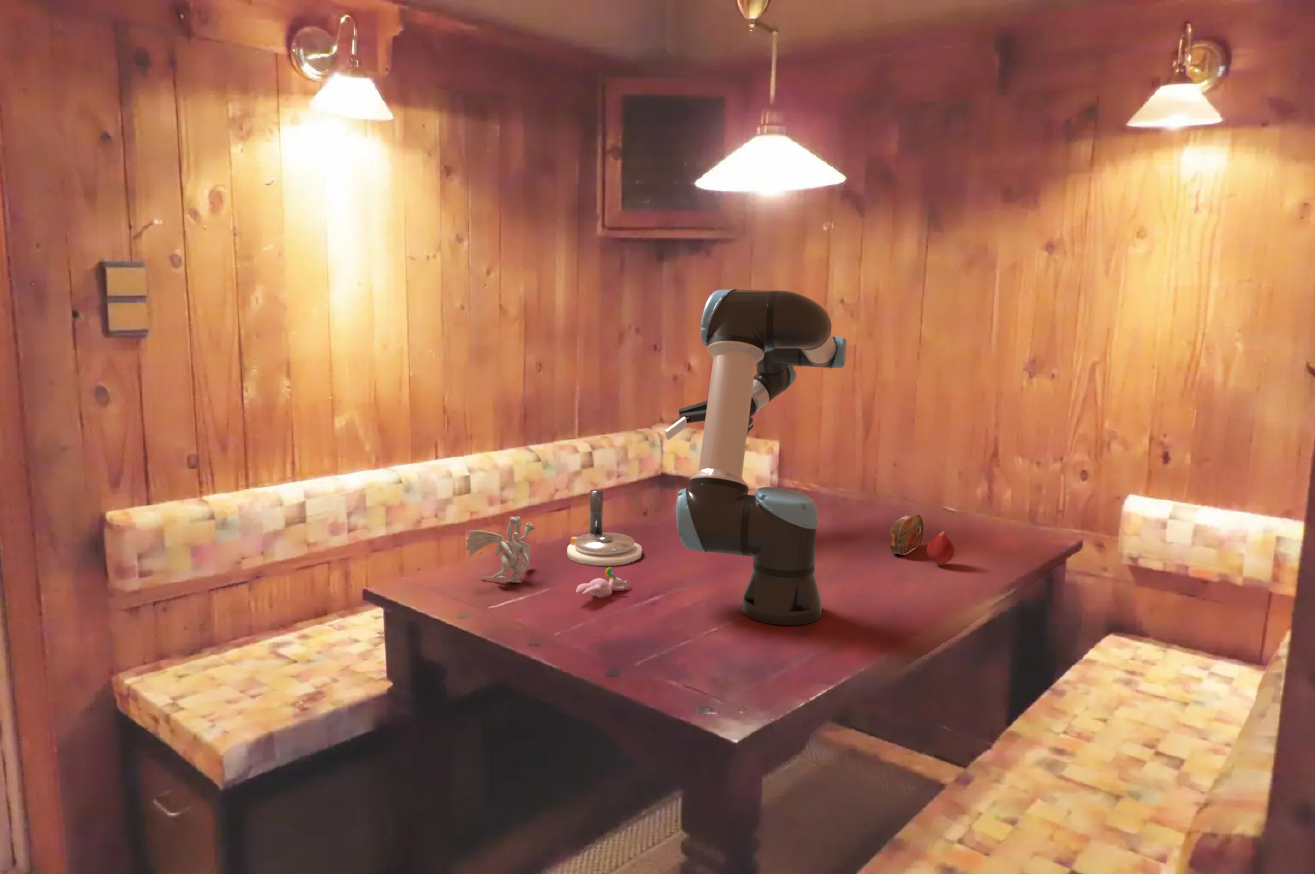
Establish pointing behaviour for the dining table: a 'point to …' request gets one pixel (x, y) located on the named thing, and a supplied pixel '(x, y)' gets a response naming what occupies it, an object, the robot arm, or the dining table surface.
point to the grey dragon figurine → (505, 548)
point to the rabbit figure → (604, 585)
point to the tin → (906, 534)
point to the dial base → (603, 560)
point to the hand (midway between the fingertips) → (686, 447)
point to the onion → (940, 549)
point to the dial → (602, 533)
